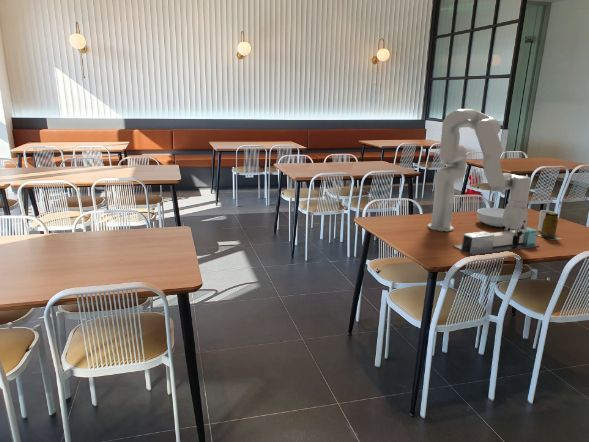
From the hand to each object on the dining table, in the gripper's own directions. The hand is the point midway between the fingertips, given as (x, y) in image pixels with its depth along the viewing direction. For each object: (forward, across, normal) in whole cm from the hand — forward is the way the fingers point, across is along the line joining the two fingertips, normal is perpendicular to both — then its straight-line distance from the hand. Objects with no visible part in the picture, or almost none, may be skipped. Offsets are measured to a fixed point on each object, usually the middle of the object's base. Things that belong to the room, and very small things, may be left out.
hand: (511, 241), depth 200 cm
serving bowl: (+2, -29, +20) cm, 35 cm away
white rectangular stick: (0, 0, -5) cm, 5 cm away
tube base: (+1, 0, -9) cm, 9 cm away
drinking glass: (+2, -12, +36) cm, 38 cm away
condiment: (+2, -3, +28) cm, 28 cm away
